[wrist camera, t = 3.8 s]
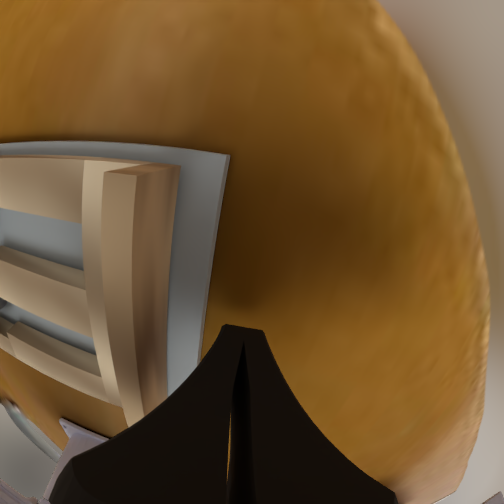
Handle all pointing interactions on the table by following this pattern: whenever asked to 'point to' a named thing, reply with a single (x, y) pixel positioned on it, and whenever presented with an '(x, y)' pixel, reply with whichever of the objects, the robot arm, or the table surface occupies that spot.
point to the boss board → (182, 249)
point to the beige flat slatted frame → (95, 274)
